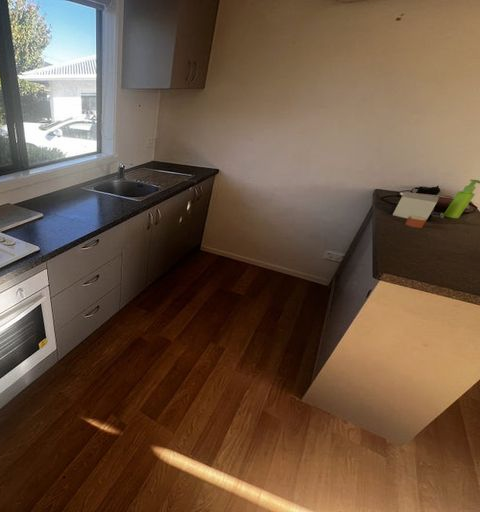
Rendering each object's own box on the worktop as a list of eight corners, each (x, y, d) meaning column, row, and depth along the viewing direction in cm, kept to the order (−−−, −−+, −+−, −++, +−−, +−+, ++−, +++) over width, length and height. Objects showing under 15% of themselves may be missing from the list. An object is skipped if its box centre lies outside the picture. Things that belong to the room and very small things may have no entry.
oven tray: (442, 216, 155) (445, 211, 153) (440, 223, 147) (444, 217, 145) (400, 208, 166) (403, 203, 164) (396, 214, 158) (399, 208, 156)
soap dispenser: (450, 218, 156) (475, 181, 146) (440, 213, 161) (463, 178, 152) (463, 219, 154) (489, 182, 145) (453, 215, 160) (477, 179, 150)
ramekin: (412, 223, 150) (417, 215, 148) (425, 228, 144) (430, 220, 142) (400, 224, 150) (405, 215, 147) (413, 228, 144) (418, 220, 142)
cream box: (427, 216, 159) (439, 196, 153) (425, 222, 151) (436, 202, 145) (396, 210, 167) (405, 191, 162) (391, 216, 159) (401, 196, 154)
